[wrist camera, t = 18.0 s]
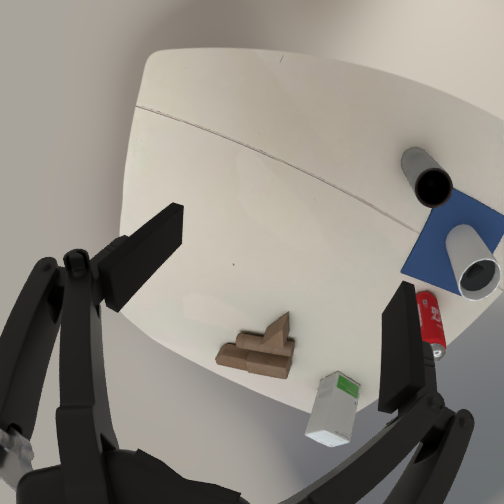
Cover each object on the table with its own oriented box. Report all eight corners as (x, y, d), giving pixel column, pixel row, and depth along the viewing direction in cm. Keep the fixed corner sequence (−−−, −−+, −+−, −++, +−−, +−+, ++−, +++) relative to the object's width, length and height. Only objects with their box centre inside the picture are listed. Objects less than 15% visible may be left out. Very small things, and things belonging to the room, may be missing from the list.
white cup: (436, 252, 39) (449, 293, 31) (453, 215, 35) (474, 251, 27) (467, 264, 37) (484, 305, 29) (486, 230, 33) (509, 267, 26)
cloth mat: (443, 183, 33) (444, 184, 33) (509, 219, 31) (510, 220, 31) (400, 271, 43) (400, 272, 43) (463, 295, 41) (464, 297, 40)
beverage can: (409, 291, 44) (415, 345, 35) (437, 287, 42) (448, 340, 32) (409, 313, 46) (413, 366, 37) (436, 310, 44) (444, 362, 34)
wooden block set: (289, 384, 59) (214, 369, 65) (295, 364, 63) (223, 351, 69) (287, 333, 50) (196, 318, 56) (294, 312, 55) (208, 300, 61)
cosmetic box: (361, 384, 61) (352, 442, 48) (341, 393, 65) (330, 448, 52) (336, 369, 60) (324, 430, 48) (317, 379, 64) (303, 436, 52)
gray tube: (437, 161, 32) (460, 186, 24) (418, 185, 35) (435, 216, 27) (413, 140, 32) (432, 158, 24) (394, 164, 35) (406, 190, 27)
